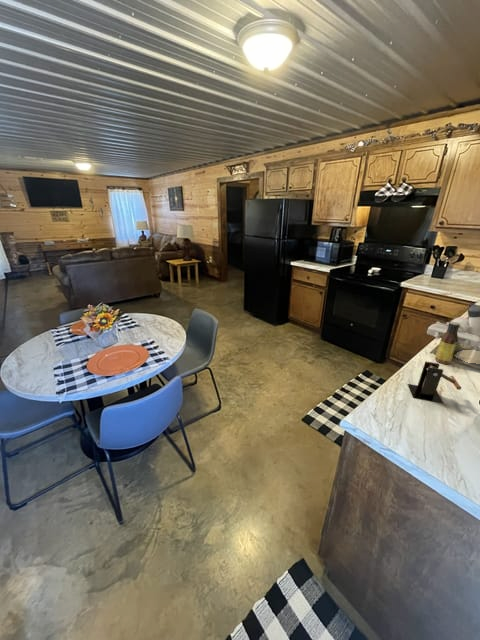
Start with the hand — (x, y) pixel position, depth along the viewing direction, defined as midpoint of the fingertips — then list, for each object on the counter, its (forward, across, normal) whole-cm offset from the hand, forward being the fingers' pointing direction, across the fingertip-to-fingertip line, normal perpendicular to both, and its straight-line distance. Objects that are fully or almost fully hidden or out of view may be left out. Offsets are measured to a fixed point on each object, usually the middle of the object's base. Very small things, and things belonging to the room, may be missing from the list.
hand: (449, 340), depth 122 cm
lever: (+34, -4, -2) cm, 34 cm away
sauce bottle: (0, 0, -11) cm, 11 cm away
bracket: (+36, -1, -11) cm, 37 cm away
